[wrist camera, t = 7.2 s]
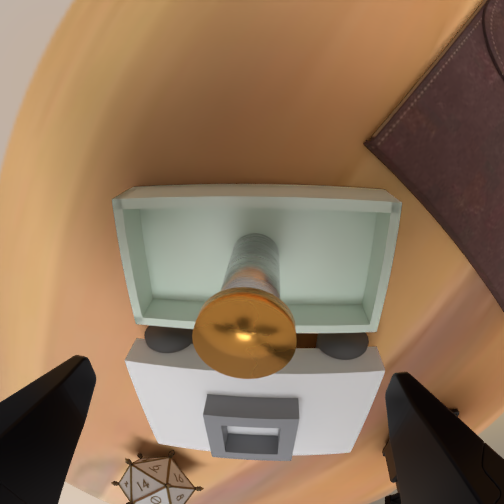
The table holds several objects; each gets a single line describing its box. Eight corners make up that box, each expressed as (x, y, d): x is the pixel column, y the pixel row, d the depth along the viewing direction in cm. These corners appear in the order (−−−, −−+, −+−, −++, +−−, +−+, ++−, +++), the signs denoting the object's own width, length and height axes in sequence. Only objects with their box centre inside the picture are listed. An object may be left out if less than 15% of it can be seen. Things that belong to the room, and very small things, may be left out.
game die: (156, 425, 31) (94, 451, 21) (221, 457, 27) (169, 501, 18) (147, 478, 30) (93, 508, 21) (206, 509, 27) (159, 553, 17)
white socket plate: (370, 321, 18) (393, 387, 13) (343, 414, 22) (351, 470, 17) (146, 315, 19) (113, 375, 14) (171, 407, 23) (154, 461, 18)
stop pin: (290, 224, 15) (300, 302, 9) (287, 284, 17) (292, 380, 10) (221, 222, 15) (186, 298, 9) (223, 283, 17) (198, 375, 11)
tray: (384, 189, 15) (402, 202, 12) (365, 305, 18) (376, 331, 15) (133, 186, 16) (111, 199, 13) (150, 299, 18) (135, 323, 16)
